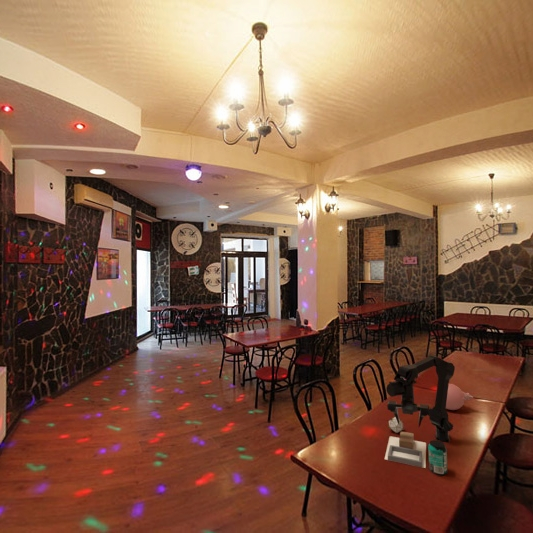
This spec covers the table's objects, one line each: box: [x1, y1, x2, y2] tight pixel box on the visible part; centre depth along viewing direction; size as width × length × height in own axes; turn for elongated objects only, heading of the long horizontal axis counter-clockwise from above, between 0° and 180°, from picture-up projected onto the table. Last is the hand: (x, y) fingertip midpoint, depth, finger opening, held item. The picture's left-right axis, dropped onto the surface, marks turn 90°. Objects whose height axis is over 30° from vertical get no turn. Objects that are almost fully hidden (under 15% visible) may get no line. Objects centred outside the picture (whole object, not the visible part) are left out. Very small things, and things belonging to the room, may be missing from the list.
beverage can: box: [427, 439, 449, 477], centre depth 141 cm, size 7×7×12 cm
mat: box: [384, 435, 427, 469], centre depth 157 cm, size 23×17×3 cm
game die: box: [387, 416, 406, 434], centre depth 176 cm, size 9×8×10 cm
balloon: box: [435, 382, 474, 411], centre depth 202 cm, size 15×20×15 cm
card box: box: [398, 430, 415, 449], centre depth 162 cm, size 10×6×4 cm, turn 154°
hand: (408, 425), depth 160 cm, fingers open, 9 cm apart
